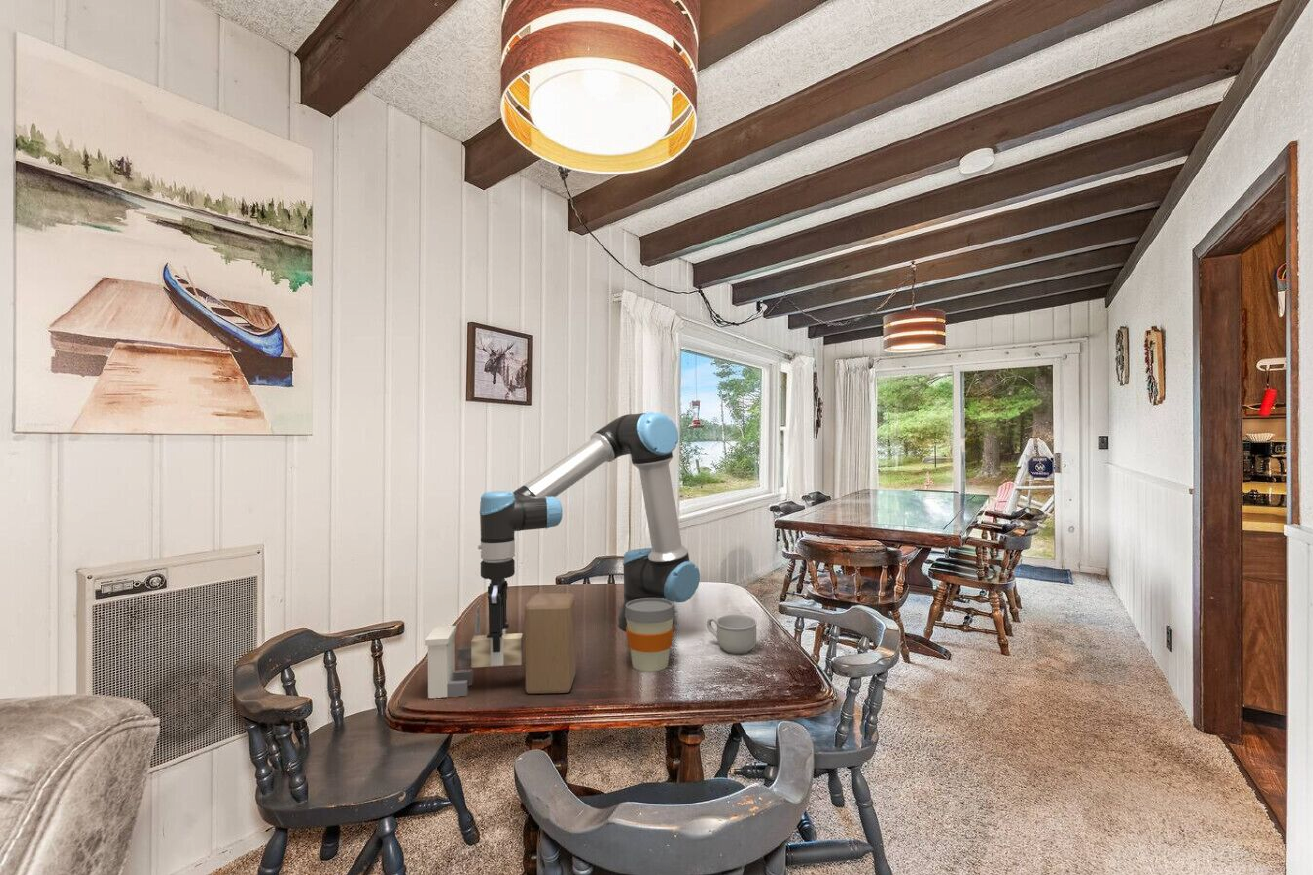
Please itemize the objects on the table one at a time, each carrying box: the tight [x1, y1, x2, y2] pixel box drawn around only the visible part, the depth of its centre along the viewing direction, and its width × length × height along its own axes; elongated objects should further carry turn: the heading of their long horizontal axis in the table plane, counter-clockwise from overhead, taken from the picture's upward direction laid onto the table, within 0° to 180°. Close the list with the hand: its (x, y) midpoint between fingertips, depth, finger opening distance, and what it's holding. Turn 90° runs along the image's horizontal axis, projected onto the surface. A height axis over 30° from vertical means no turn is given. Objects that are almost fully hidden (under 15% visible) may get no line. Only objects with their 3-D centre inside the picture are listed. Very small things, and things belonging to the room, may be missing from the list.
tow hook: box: [474, 605, 481, 635], centre depth 152 cm, size 8×13×9 cm
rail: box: [457, 632, 524, 668], centre depth 128 cm, size 14×4×6 cm, turn 98°
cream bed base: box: [424, 625, 473, 699], centre depth 127 cm, size 8×9×13 cm
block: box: [524, 592, 576, 695], centre depth 129 cm, size 10×10×20 cm
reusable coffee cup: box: [625, 598, 676, 673], centre depth 141 cm, size 13×13×15 cm
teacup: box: [706, 613, 758, 655], centre depth 151 cm, size 14×11×8 cm
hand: (498, 661), depth 128 cm, fingers closed on rail, 4 cm apart
